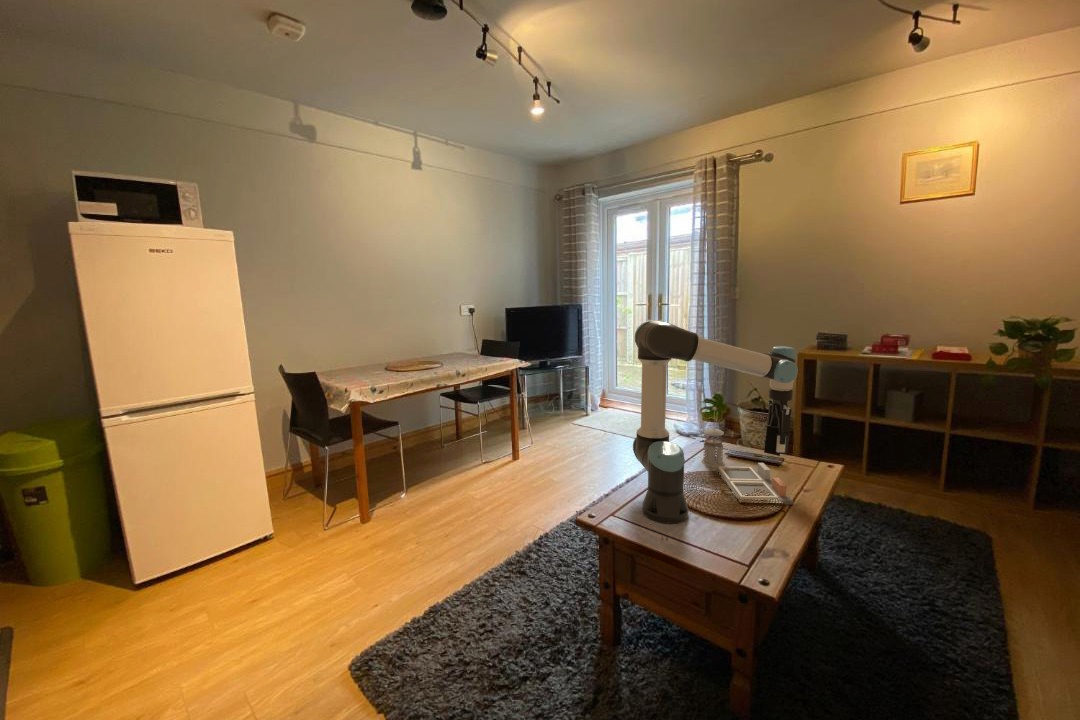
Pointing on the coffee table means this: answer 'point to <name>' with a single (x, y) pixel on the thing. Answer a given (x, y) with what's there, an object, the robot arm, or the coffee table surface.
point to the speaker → (773, 441)
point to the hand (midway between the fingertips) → (776, 448)
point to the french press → (713, 447)
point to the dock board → (754, 482)
